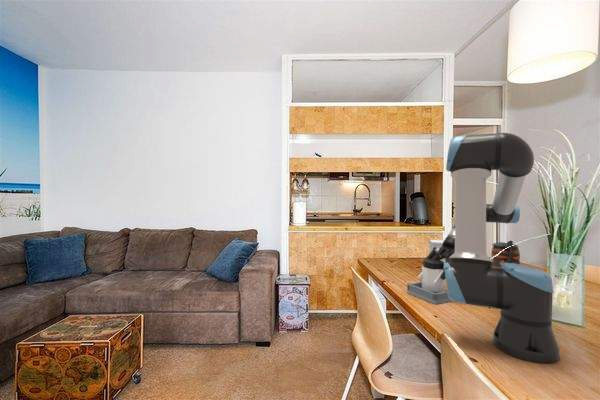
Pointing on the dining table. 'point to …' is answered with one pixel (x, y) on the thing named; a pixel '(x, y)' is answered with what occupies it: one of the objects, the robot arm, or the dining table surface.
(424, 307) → the dining table surface
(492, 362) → the dining table surface
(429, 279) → the jar
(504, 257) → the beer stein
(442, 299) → the dock bay
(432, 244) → the supplement box
